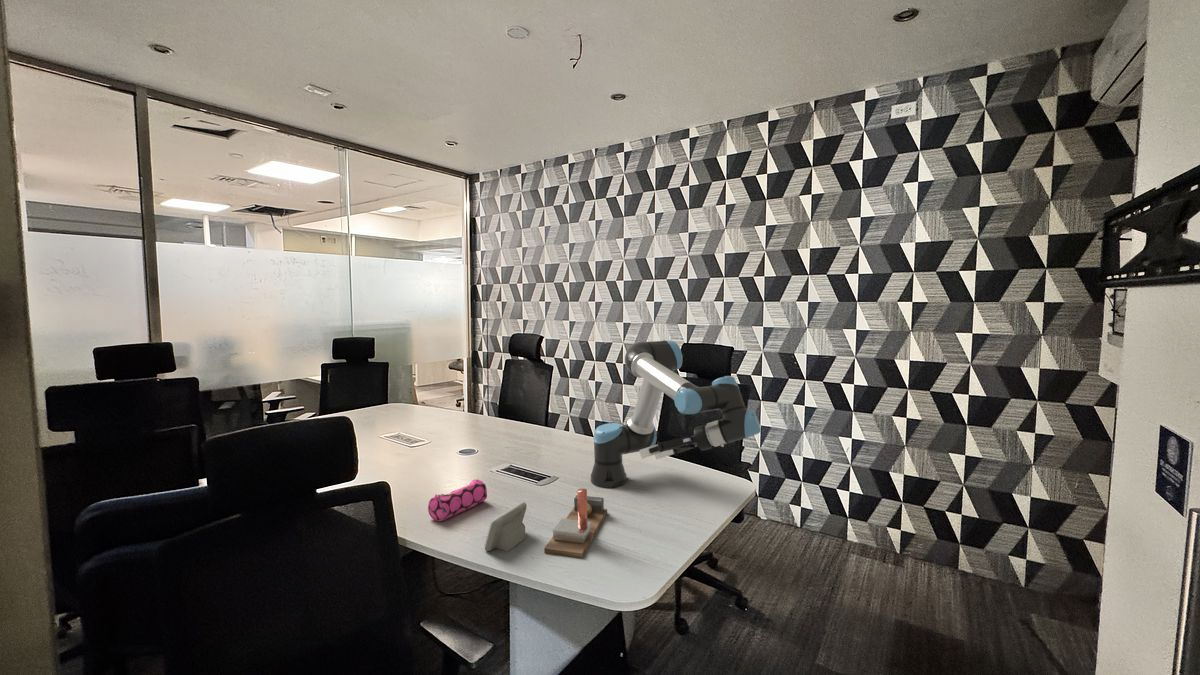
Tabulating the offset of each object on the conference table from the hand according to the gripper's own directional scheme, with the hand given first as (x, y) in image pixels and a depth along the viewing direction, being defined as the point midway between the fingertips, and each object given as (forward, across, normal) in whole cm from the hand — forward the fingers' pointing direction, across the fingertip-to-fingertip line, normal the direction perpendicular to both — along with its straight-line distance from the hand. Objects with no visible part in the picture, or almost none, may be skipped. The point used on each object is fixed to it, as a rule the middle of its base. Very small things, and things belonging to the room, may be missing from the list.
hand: (648, 454), depth 156 cm
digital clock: (+48, -18, -15) cm, 53 cm away
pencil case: (+73, -8, 0) cm, 74 cm away
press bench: (+30, -3, -17) cm, 34 cm away
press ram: (+29, -9, -18) cm, 35 cm away
